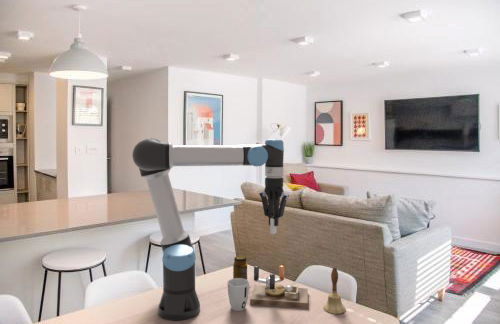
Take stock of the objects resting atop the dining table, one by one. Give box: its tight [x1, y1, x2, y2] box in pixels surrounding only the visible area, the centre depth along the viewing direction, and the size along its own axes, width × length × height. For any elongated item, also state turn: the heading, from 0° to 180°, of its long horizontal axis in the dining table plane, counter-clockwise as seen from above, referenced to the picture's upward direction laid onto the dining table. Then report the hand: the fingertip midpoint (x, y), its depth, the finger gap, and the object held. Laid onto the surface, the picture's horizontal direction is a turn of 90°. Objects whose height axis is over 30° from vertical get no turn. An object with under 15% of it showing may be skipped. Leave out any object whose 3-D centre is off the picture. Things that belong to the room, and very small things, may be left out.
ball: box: [285, 285, 293, 292], centre depth 156 cm, size 3×3×3 cm
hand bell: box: [322, 266, 346, 315], centre depth 147 cm, size 8×8×16 cm
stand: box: [249, 284, 309, 309], centre depth 156 cm, size 22×14×4 cm, turn 82°
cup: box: [227, 278, 250, 312], centre depth 147 cm, size 8×8×10 cm
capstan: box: [253, 264, 286, 297], centre depth 156 cm, size 13×12×10 cm
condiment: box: [232, 255, 251, 289], centre depth 169 cm, size 7×8×12 cm
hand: (273, 233), depth 163 cm, fingers closed
